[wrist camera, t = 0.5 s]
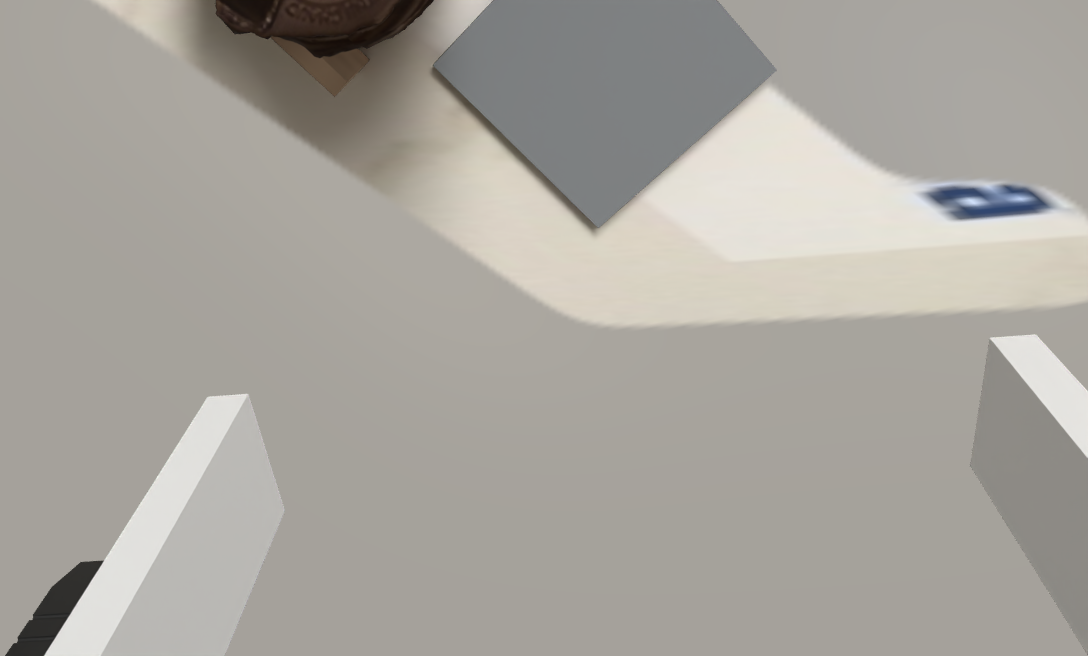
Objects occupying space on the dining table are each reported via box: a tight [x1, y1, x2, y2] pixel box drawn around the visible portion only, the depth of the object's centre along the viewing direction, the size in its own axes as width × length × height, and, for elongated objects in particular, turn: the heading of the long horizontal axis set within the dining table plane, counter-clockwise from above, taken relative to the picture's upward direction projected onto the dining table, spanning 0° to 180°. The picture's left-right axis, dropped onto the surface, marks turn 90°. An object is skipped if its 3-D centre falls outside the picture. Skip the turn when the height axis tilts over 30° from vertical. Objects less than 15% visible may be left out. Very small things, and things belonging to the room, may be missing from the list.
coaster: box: [433, 0, 776, 228], centre depth 38 cm, size 10×10×1 cm
